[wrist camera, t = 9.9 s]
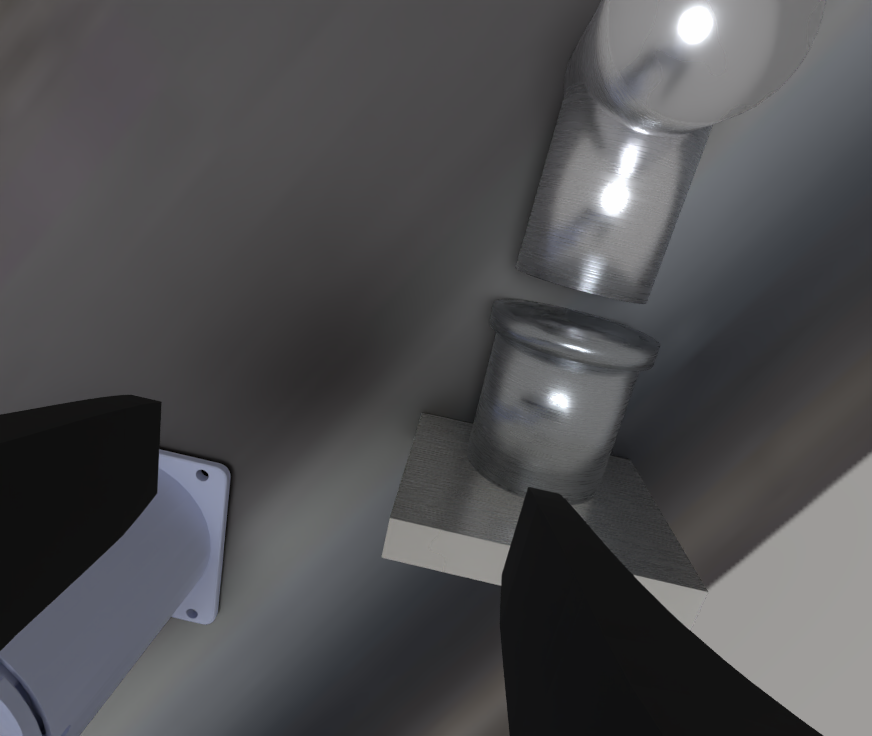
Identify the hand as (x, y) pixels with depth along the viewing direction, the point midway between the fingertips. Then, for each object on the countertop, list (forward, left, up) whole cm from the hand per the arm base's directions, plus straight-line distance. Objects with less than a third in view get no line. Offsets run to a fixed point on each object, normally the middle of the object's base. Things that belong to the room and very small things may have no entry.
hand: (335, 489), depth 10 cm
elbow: (+5, +8, -9) cm, 13 cm away
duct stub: (+5, 0, -9) cm, 11 cm away
